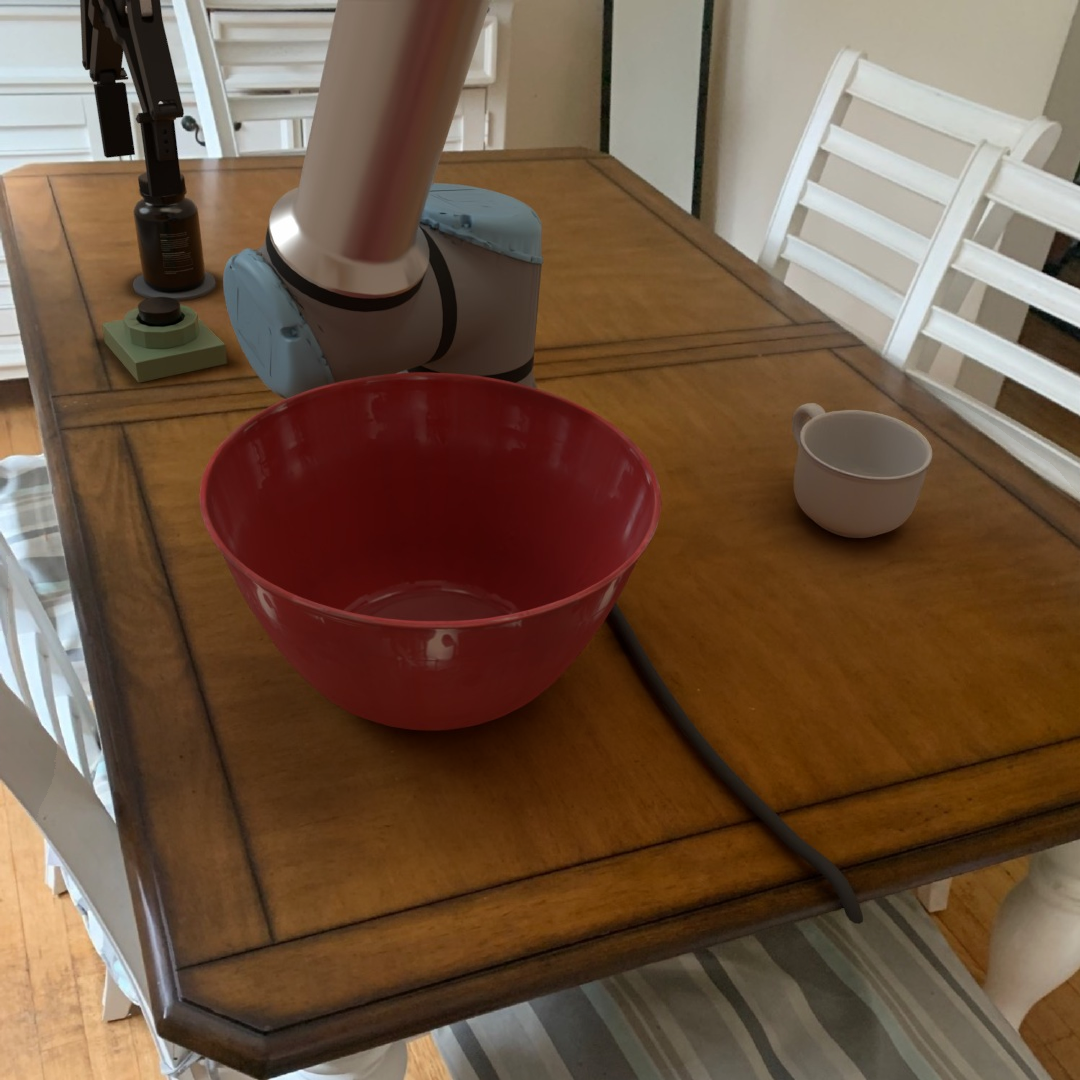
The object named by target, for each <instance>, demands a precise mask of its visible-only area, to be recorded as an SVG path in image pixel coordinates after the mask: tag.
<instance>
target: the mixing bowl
mask: <svg viewBox="0 0 1080 1080" xmlns="http://www.w3.org/2000/svg"><path fill="white" fill-rule="evenodd" d="M198 498H199V501H198V502H199V509H200V513H201V516H202V518H201V519H202V520H203V524H204V527H205V529H206V531H207V533H208V535H209V537H210V538H211V540H212V542H213V543H214V546H216V548H217V549H218V550H219V552H220V553H221V554H222V556H223V558H224V560H225V563H226V566H227V567H228V570H229V571H230V573H231V575H232V577H233V580H234V582H235V583H236V585H237V589H239V592H240V593H241V595H242V597H243V598H244V600H245V602H246V603H247V605H248V607H249V609H250V610H251V612H252V614H253V615H254V616H255V618H256V619H257V621H258V622H259V624H260V625H261V627H262V628H263V630H264V632H265V633H266V635H267V636H268V637H269V639H270V640H271V642H272V643H273V644H274V646H275V647H276V648H277V650H278V651H279V652H280V653H281V654H282V656H283V657H284V659H285V660H286V661H287V662H288V663H289V664H290V666H292V668H293V669H294V670H295V671H296V673H298V674H299V675H300V676H301V677H302V678H303V679H304V680H305V681H306V682H307V683H308V684H309V685H310V686H311V687H313V688H314V689H315V690H316V691H317V692H318V693H319V694H320V695H322V696H323V697H324V698H325V699H327V700H328V702H331V703H332V704H334V705H336V706H337V707H339V708H341V709H342V710H344V711H346V712H348V713H349V714H350V715H353V716H356V717H358V718H361V719H364V720H368V721H371V722H374V723H377V724H379V725H380V724H381V725H382V726H383V725H384V726H386V727H393V728H399V729H405V730H412V731H451V730H457V729H463V728H464V729H465V728H469V727H475V726H478V725H481V724H485V723H488V722H491V721H494V720H497V719H499V718H502V717H505V716H506V715H508V714H511V713H512V712H514V711H516V710H518V709H520V708H523V707H524V706H526V705H527V704H529V703H531V702H532V701H534V700H535V699H536V698H538V696H539V695H541V694H542V693H543V692H544V691H546V690H547V689H548V688H550V687H551V686H552V685H553V684H554V683H555V682H556V681H557V680H558V679H559V678H560V677H561V676H562V675H563V674H564V673H565V672H566V671H567V670H568V669H569V668H570V666H571V665H572V664H573V663H574V662H575V661H576V660H577V659H578V657H579V656H580V654H582V652H583V651H584V650H585V648H586V647H587V646H588V644H589V643H590V642H591V640H592V639H593V637H595V634H597V632H598V631H599V629H600V628H601V626H602V625H603V624H604V622H605V620H606V619H607V618H608V615H609V613H610V611H611V609H612V608H613V606H614V604H615V603H616V604H617V601H618V599H619V597H620V596H621V594H622V592H623V590H624V588H625V587H626V585H627V583H628V581H629V579H630V577H631V575H632V573H633V571H634V569H635V567H636V564H637V562H638V560H639V558H640V557H641V556H642V555H643V554H644V552H645V551H646V550H647V548H648V547H649V545H650V544H651V542H652V540H653V538H654V536H655V534H656V531H657V529H658V525H659V522H660V518H661V512H662V505H663V503H662V492H661V487H660V483H659V480H658V477H657V475H656V472H655V470H654V468H653V466H652V464H651V463H650V461H649V459H648V458H647V456H646V455H645V454H644V452H643V451H642V450H641V449H640V447H638V445H637V444H636V443H635V442H634V441H633V440H632V439H631V437H629V436H628V435H627V434H625V433H624V432H623V431H622V430H621V429H619V428H618V427H617V426H616V425H615V424H613V423H612V422H610V421H609V420H607V419H606V418H604V417H603V416H601V415H599V414H597V413H596V412H595V411H592V410H591V409H589V408H586V407H584V406H582V405H581V404H579V403H576V402H574V401H572V400H570V399H568V398H565V397H563V396H560V395H557V394H554V393H552V392H549V391H546V390H542V389H539V388H537V389H536V388H533V387H530V386H526V385H522V384H518V383H513V382H509V381H504V380H499V379H494V378H488V377H482V376H474V375H464V374H454V373H430V372H414V373H396V374H384V375H375V376H368V377H362V378H356V379H351V380H346V381H341V382H337V383H332V384H328V385H324V386H321V387H318V388H314V389H311V390H308V391H305V392H302V393H300V394H297V395H295V396H292V397H290V398H287V399H283V400H280V401H278V402H276V403H274V404H271V405H270V406H268V407H267V408H266V407H265V409H263V410H261V411H259V412H258V413H256V414H255V415H253V416H251V417H250V418H248V419H246V420H245V421H244V422H242V423H241V424H240V425H239V426H238V427H236V428H235V429H234V430H233V431H232V432H230V434H228V436H227V437H226V438H224V440H223V441H222V442H221V443H220V444H219V446H218V447H217V448H216V449H215V451H214V453H213V454H212V456H211V457H210V459H209V461H208V462H207V464H206V466H205V469H204V471H203V474H202V477H201V482H200V487H199V497H198Z"/></svg>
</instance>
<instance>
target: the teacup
mask: <svg viewBox="0 0 1080 1080" xmlns="http://www.w3.org/2000/svg"><path fill="white" fill-rule="evenodd" d="M809 418H810V419H809ZM808 419H809V420H808ZM791 428H792V435H793V438H794V441H795V443H796V445H797V448H798V449H797V450H798V451H797V456H796V462H795V468H794V475H793V491H794V496H795V500H796V502H797V504H798V506H799V508H800V509H801V510H802V512H803V513H804V514H805V515H806V516H807V517H808V518H809V519H811V520H812V521H813V522H814V523H815V524H816V525H817V526H819V527H820V528H822V529H823V530H825V531H828V532H830V533H832V534H834V535H837V536H840V537H844V538H852V539H866V538H871V537H876V536H878V535H882V534H885V533H886V534H887V533H889V532H892V531H894V530H896V529H898V528H899V527H901V526H902V525H903V524H905V522H906V521H907V520H908V519H909V518H910V516H911V515H912V513H913V512H914V510H915V508H916V506H917V503H918V500H919V497H920V495H921V491H922V489H923V486H924V482H925V479H926V475H927V472H928V469H929V467H930V465H931V463H932V460H933V449H932V446H931V444H930V441H929V440H928V439H927V438H926V436H925V435H924V434H923V433H921V431H919V430H918V429H917V428H915V427H913V426H912V425H910V424H908V423H906V422H904V421H902V420H901V419H898V418H896V417H893V416H890V415H887V414H883V413H878V412H874V411H870V410H869V411H868V410H860V409H844V410H843V409H842V410H832V411H829V412H826V411H825V409H824V408H823V407H822V406H821V405H819V404H818V403H815V402H808V403H804V404H802V405H800V406H799V407H797V408H796V409H795V411H794V413H793V416H792V420H791Z"/></svg>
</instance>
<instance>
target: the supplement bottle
mask: <svg viewBox="0 0 1080 1080" xmlns="http://www.w3.org/2000/svg"><path fill="white" fill-rule="evenodd" d="M180 177H181V185H182V194H175V195H168V196H160V197H151V196H150V194H149V187H148V179H147V171H146V172H143V173H141V174H139V176H138V177H137V182H138V192H139V195H140V197H142V198H140V199H139V200H137V202H136V203H135V205H134V207H133V212H132V213H133V220H134V227H135V233H136V241H137V247H138V253H139V261H140V267H141V272H142V273H141V274H143V279H144V282H145V283H146V284H147V285H148V286H149V287H150V288H152V289H155V290H158V291H165V292H179V291H186V290H190V289H193V288H196V287H198V286H200V285H201V284H202V283H203V282H204V280H205V272H206V268H205V258H204V250H203V242H202V234H201V225H200V216H199V210H198V207H197V204H196V203H195V202H194V200H193V199H191V198H189V197H188V196H186V194H187V192H188V191H187V187H186V180H185V175H184V174H183V173H181V172H180Z"/></svg>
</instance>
